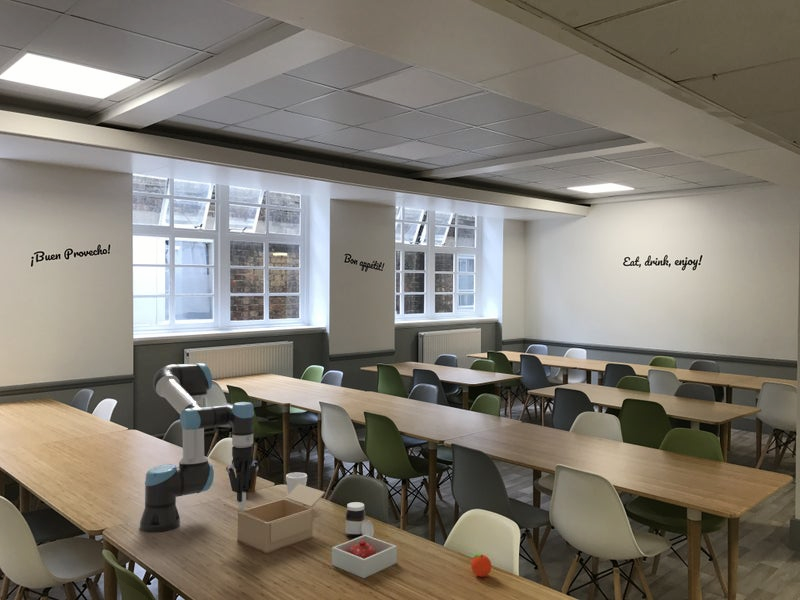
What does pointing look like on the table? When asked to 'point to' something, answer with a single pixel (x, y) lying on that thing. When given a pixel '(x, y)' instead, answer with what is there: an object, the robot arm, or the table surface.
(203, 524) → the table surface
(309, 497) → the flap far
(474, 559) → the clementine
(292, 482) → the foam cup
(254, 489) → the disposable coffee cup
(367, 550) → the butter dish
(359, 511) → the spread jar
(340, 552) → the dish caddy
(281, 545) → the carton
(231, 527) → the table surface
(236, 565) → the table surface
